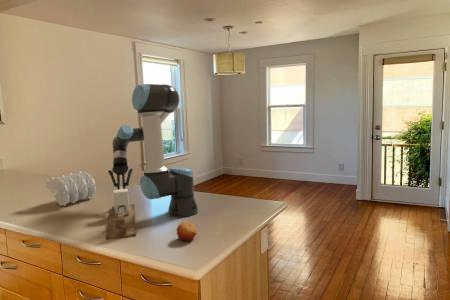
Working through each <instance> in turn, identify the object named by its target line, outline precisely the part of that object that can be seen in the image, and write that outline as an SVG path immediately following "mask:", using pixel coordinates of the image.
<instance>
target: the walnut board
mask: <svg viewBox="0 0 450 300" xmlns="http://www.w3.org/2000/svg"><path fill="white" fill-rule="evenodd" d="M135 207H136V205H135V204H134V203H133V204H129V215H125V216H124V218H118V219H117V216H115V205H114V206H113V205H112V206H111V208H110V209H111V210H110V213H109V214H110V215H109V219H108V220H109V221H108V224H107V231H106V236H105V240H106V241H108V240H115V239H116V240H117V239H125V238H132V237H136V236H137V229H136V228H137V226H136V209H135ZM125 209H126V206H125Z"/></svg>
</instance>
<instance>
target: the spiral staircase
mask: <svg viewBox="0 0 450 300" xmlns="http://www.w3.org/2000/svg"><path fill="white" fill-rule="evenodd" d="M44 186H45V187H46V188H47V189H48V190H50V191H51V193H52V195H53V196H54V198H55V203H57V204H59V206H64V207H66V206H67V204H68V203H69V204H70V203H71V204H72V205H74V204H75V203H76V202H78V201H81V200H83V201H84V200H85V199H87V198H91V199H92V198H93V197H94V195H96V191H97V187H96V183H95V180H94V179H93V176H92V175H91V174H89V173H87V171H81V170H79V171H78V172H75V173H72V172H70V173H69V174H68V175H64V174H63V175H61V176H57V177H54V176H52V177H51V178H49V179H46V182H45V185H44Z"/></svg>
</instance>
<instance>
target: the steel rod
mask: <svg viewBox="0 0 450 300" xmlns="http://www.w3.org/2000/svg"><path fill="white" fill-rule="evenodd" d="M124 216H125V205H121V206H119V212H118V216H117V219H118V218H124Z"/></svg>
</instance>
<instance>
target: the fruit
mask: <svg viewBox="0 0 450 300" xmlns="http://www.w3.org/2000/svg"><path fill="white" fill-rule="evenodd" d="M176 235H177V237H178V239H177V241H179V240H181V241H183V242H189V241H192V240H193V239H194V238H195V237H196V235H197V229H196V227H195V225H194V224H193V223H190V222H189V221H188V222H187V221H183V222H181V223H180V224H178V226H177V228H176Z"/></svg>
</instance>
